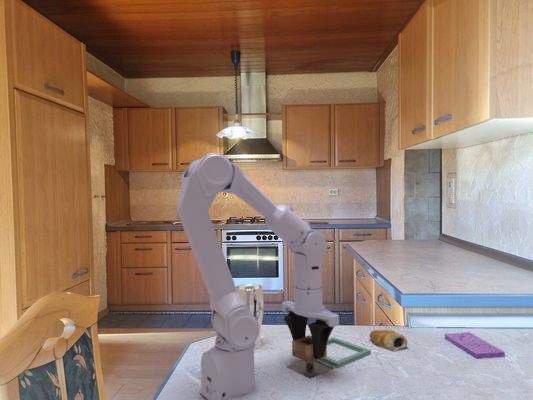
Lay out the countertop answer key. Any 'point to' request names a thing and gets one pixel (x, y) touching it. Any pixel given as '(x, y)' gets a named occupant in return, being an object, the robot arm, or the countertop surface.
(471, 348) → the sponges
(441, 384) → the countertop surface
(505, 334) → the countertop surface
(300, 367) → the grey peg base
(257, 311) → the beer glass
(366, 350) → the tray
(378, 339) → the pastry
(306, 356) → the collar
